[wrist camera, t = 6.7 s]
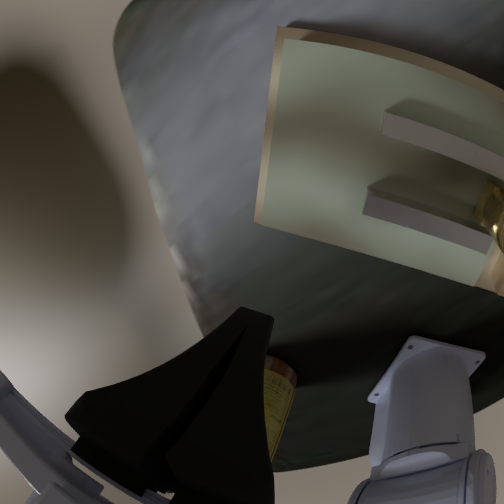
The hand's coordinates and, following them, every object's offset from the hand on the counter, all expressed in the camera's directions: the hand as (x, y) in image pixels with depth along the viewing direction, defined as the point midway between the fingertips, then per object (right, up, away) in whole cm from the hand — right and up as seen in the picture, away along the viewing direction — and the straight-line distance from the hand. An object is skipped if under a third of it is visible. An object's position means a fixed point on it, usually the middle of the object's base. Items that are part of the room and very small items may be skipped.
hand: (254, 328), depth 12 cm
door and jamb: (+13, +7, +2) cm, 15 cm away
